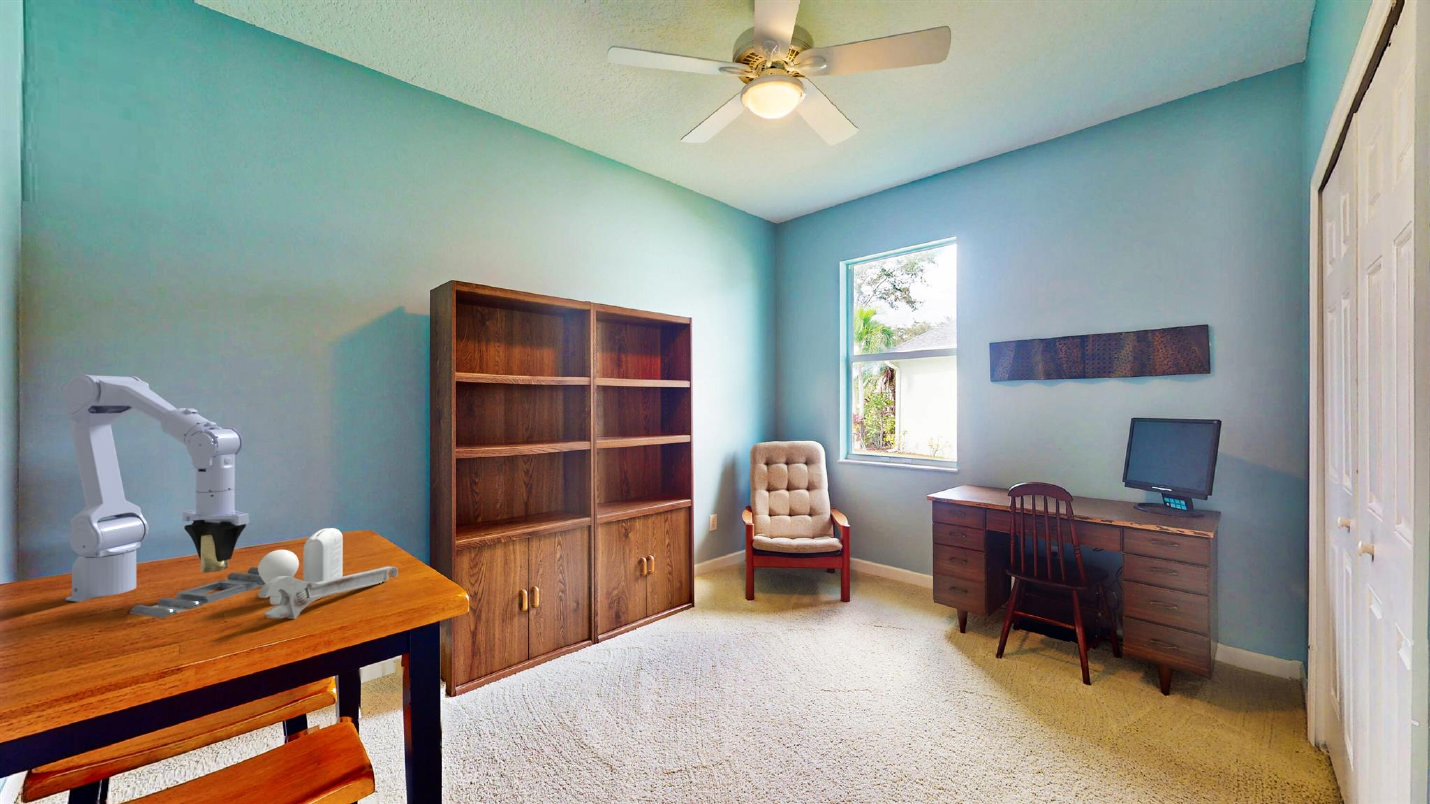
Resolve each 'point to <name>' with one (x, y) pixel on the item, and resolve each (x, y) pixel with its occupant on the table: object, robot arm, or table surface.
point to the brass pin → (210, 555)
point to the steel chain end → (167, 607)
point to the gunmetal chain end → (224, 587)
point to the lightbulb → (278, 568)
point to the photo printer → (323, 556)
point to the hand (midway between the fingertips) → (215, 559)
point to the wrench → (316, 590)
